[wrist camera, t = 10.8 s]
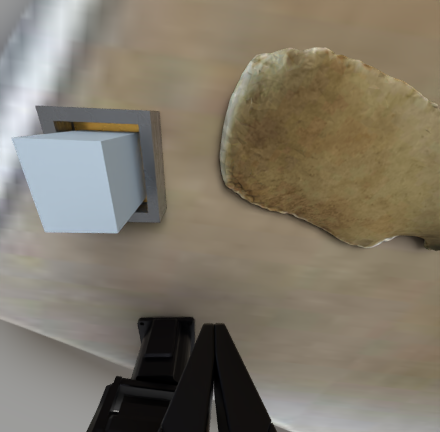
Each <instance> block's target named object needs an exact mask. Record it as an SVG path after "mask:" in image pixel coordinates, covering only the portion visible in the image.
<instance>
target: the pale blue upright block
mask: <svg viewBox="0 0 440 432" xmlns="http://www.w3.org/2000/svg"><path fill="white" fill-rule="evenodd" d="M12 141H13V143H14V146H15V149H16V152H17V155H18V158H19V160H20V163H21V166H22V169H23V172H24V174H25V177H26V180H27V183H28V186H29V188H30V191H31V194H32V197H33V200H34V202H35V205H36V208H37V211H38V214H39V216H40V219H41V222H42V225H43V228H44V231H45V232H70V233H119V231H120V230H121V229H122V227H123V226H124V225H125V224H126V222H127V221H128V220H129V219H130V217H131V216H132V215H133V213H134V212H135V211H136V210H137V208H138V207H139V206H140V204H141V203H142V202H143V201H144V199H145V198H146V189H145V180H144V171H143V163H142V154H141V145H140V136H139V132H121V131H97V130H77V131H68V132H59V133H50V134H41V135H32V136H23V137H14V138H12Z"/></svg>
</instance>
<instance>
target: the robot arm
mask: <svg viewBox="0 0 440 432" xmlns="http://www.w3.org/2000/svg"><path fill="white" fill-rule="evenodd" d="M138 329H139V334H140V339H141V347H140V351H139V354H138V357H137V361H136V364H135V367H134V371H133V374H132V378H131V379H126V378H122V377H121V376H116V378H115V380H114V383H112V384H110V385H108V386H106V388H105V391H104V394H103V396H102V398H101V401H100V404H99V406H98V408H97V411H96V413H95V415H94V417H93V419H92V421H91V424H90V425H89V428H88V430H87V432H209V430H210V419H211V409H212V398H213V384H214V394H215V404H216V413H217V422H218V431H219V432H277V431H276V429H275V427H274V425H273V423H271V419H270V417H269V415H268V413H267V410H266V408H265V406H264V404H263V402H262V400H261V398H260V396H259V394H258V392H257V390H256V388H255V386H254V384H253V382H252V379H251V377H250V375H249V373H248V371H247V369H246V367H245V365H244V363H243V361H242V359H241V357H240V355H239V353H238V350H237V348H236V346H235V344H234V342H233V340H232V338H231V336H230V334H229V332H228V330H227V328H226V326H225V324H223V323H216V324H212V323H207V324H204V325H203V326H202V329H201V331H200V333H199V336H198V338H197V340H196V343H195V320H194V319H193V318H191V317H185V318H140V319H139V321H138ZM113 410H118V411H119V412H113Z"/></svg>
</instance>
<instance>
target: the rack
mask: <svg viewBox="0 0 440 432" xmlns="http://www.w3.org/2000/svg"><path fill="white" fill-rule="evenodd" d="M36 110H37V113H38V116H39V120H40V123H41V127H42V130H43V133H44V134H50V133H59V132H68V131H77V130H97V131H121V132H139V136H140V145H141V154H142V163H143V171H144V180H145V189H146V198H145V199H144V201H143V202H142V203H141V204H140V206H139V207H138V208H137V210H136V211H135V212H134V213H133V215H132V216H131V217H130V219H129V220H128V221H127V222H160V221H161V219H162V217H163V215H164V213H165V211H166V208H167V207H166V193H165V180H164V167H163V153H162V140H161V126H160V113H159V112H158V111H142V110H120V109H97V108H75V107H53V106H36Z"/></svg>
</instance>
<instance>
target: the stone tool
mask: <svg viewBox="0 0 440 432" xmlns="http://www.w3.org/2000/svg"><path fill="white" fill-rule="evenodd" d="M438 108H439V107H438V105H437V104H436V103H433V102H431V101H428V99H427V98H425V97H423V96H422V94H421V93H419V92H418V91H416V90H415V89H414V88H413V87H412V86H410V85H409V84H407V83H406V82H404V81H402V80H399V79H396V78H392V77H389V76H388V75H386V74H384V73H383V72H381V71H379V70H377V69H375V68H374V67H371V66H369V65H366V64H364V63H363V62H362V61H361V60H354V59H350V58H347V57H346V56H344V55H335V54H334V53H333V51H331V50H329V49H328V48H311V49H307V50H303V51H300V50H296V49H294V48H287V49H283V50H279V51H277V52H274V53H267V54H258V55H256V56H255V57H254V58H253V59H252V60H251V61H250V63H249V64H248V66H247V67H246V69H245V70H244V72H243V74H242V75H241V78H240V81H239V82H238V84H237V86H236V88H235V90H234V92H233V94H232V96H231V98H230V101H229V105H228V109H227V113H226V117H225V122H224V126H223V132H222V140H221V148H220V166H221V172H222V176H223V180H224V181H225V185H226V186H227V187H228V188H230V189H232V190H233V192H236V193H238V194H239V195H240V196H241V198H244V199H246V200H247V201H249V202H250V203H252V204H255V205H258V206H260V207H261V208H264V209H268V210H269V211H277V212H280V213H281V214H285V213H289V214H292V215H294V216H295V217H297V218H301V219H304V220H306V221H307V222H310V223H312V224H313V225H316V226H318V227H320V228H322V229H324V230H325V231H327V232H329V233H330V234H332V235H334V236H335V237H336V238H338V239H340V240H341V241H343V242H346V243H348V244H350V245H358V246H359V247H360V246H361V247H363V248H371V247H375V246H377V245H379V244H380V243H382V242H383V241H389V240H392V239H393V238H395V237H396V236H399V235H408V236H417V237H421V238H423V239H425V241H424V247H425V248H426V249H428V250H432V249H433V250H435V251H437V250H440V110H439V109H438Z"/></svg>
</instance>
